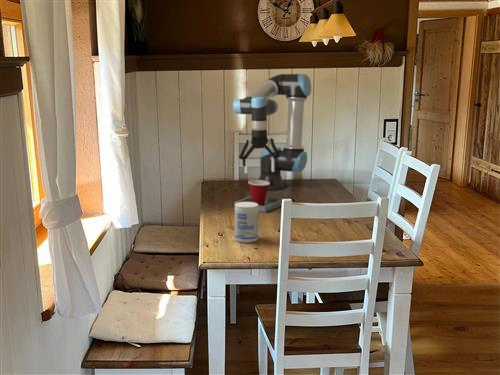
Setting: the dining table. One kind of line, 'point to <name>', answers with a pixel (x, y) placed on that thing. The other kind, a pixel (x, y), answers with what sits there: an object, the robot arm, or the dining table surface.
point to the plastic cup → (258, 191)
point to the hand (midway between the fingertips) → (259, 172)
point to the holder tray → (268, 206)
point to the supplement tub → (246, 221)
